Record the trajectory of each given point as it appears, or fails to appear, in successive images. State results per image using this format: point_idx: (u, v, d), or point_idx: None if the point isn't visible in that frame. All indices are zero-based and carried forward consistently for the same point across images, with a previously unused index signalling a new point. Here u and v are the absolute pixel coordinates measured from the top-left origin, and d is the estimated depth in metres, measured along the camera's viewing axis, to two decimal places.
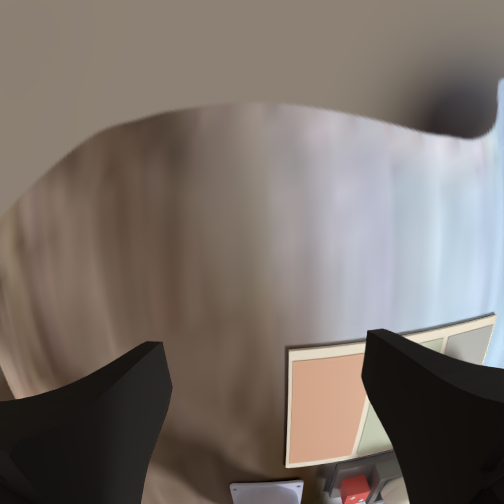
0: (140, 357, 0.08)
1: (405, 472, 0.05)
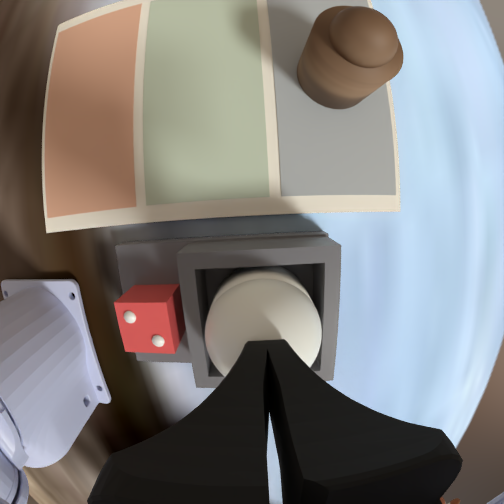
0: (263, 357, 0.08)
1: (282, 497, 0.05)
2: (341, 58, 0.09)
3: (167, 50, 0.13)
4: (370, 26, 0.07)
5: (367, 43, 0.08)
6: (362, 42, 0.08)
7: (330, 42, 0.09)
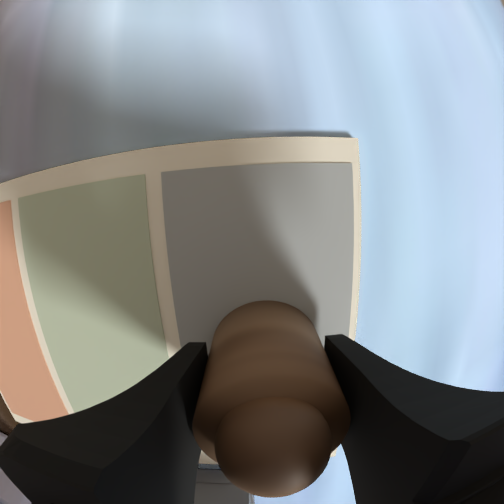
0: (191, 359, 0.08)
1: (355, 485, 0.05)
2: None
3: (52, 297, 0.10)
4: (264, 493, 0.05)
5: None
6: None
7: None
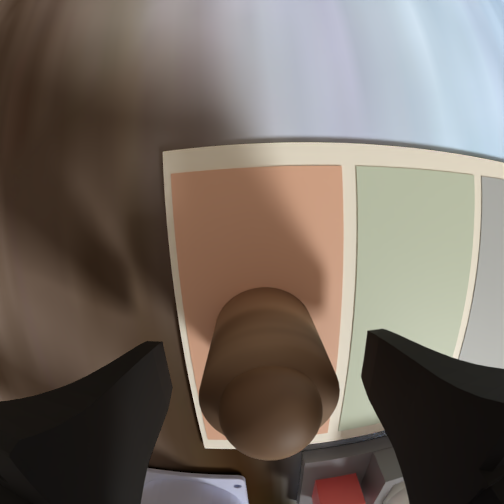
0: (140, 357, 0.08)
1: (405, 472, 0.05)
2: None
3: (385, 275, 0.11)
4: (262, 454, 0.06)
5: (258, 458, 0.06)
6: (252, 456, 0.06)
7: None
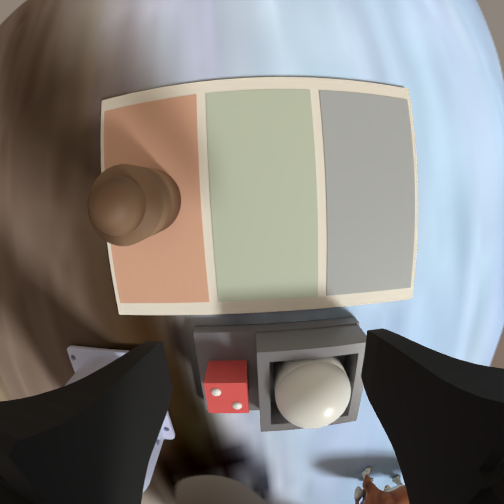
0: (140, 357, 0.08)
1: (405, 472, 0.05)
2: None
3: (230, 159, 0.17)
4: (100, 214, 0.11)
5: (103, 228, 0.12)
6: (100, 227, 0.12)
7: None
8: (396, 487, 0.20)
